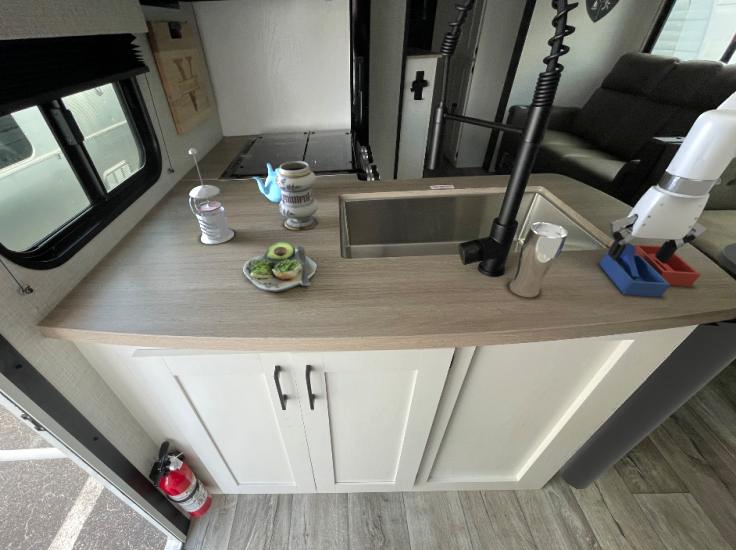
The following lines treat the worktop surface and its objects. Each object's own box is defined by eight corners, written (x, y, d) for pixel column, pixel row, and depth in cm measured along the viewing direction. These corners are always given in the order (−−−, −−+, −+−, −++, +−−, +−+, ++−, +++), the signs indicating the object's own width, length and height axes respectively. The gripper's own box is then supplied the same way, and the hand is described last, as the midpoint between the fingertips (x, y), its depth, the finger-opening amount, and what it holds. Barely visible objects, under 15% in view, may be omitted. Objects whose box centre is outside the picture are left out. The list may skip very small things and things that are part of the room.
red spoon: (679, 281, 74) (684, 275, 73) (662, 280, 74) (666, 274, 73) (656, 260, 81) (660, 253, 80) (640, 259, 81) (644, 252, 80)
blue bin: (599, 264, 81) (606, 252, 79) (631, 266, 80) (639, 254, 78) (623, 294, 72) (632, 282, 69) (660, 297, 70) (670, 284, 68)
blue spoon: (638, 280, 74) (644, 277, 73) (621, 279, 75) (627, 275, 73) (629, 247, 78) (634, 243, 77) (613, 246, 79) (618, 242, 77)
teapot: (307, 190, 126) (304, 163, 119) (296, 206, 114) (293, 176, 108) (271, 189, 128) (266, 162, 121) (257, 204, 116) (251, 175, 110)
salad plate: (336, 279, 79) (335, 263, 76) (270, 307, 72) (267, 291, 69) (296, 247, 92) (295, 232, 89) (237, 269, 84) (233, 253, 81)
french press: (218, 246, 94) (191, 155, 78) (189, 238, 98) (158, 151, 82) (240, 232, 100) (219, 145, 84) (212, 225, 104) (187, 141, 89)
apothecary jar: (286, 235, 98) (277, 174, 86) (278, 218, 107) (269, 162, 95) (324, 227, 101) (320, 168, 89) (313, 212, 110) (308, 156, 98)
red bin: (627, 256, 83) (634, 244, 81) (659, 257, 82) (667, 246, 80) (654, 284, 74) (663, 271, 72) (690, 286, 73) (701, 274, 71)
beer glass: (511, 297, 72) (536, 237, 62) (503, 279, 77) (525, 221, 68) (545, 299, 71) (575, 238, 61) (534, 281, 76) (560, 222, 67)
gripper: (722, 178, 64) (669, 252, 75) (625, 175, 67) (587, 248, 78) (753, 192, 59) (690, 270, 70) (645, 189, 61) (601, 265, 72)
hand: (636, 258), depth 74 cm, fingers open, 9 cm apart
